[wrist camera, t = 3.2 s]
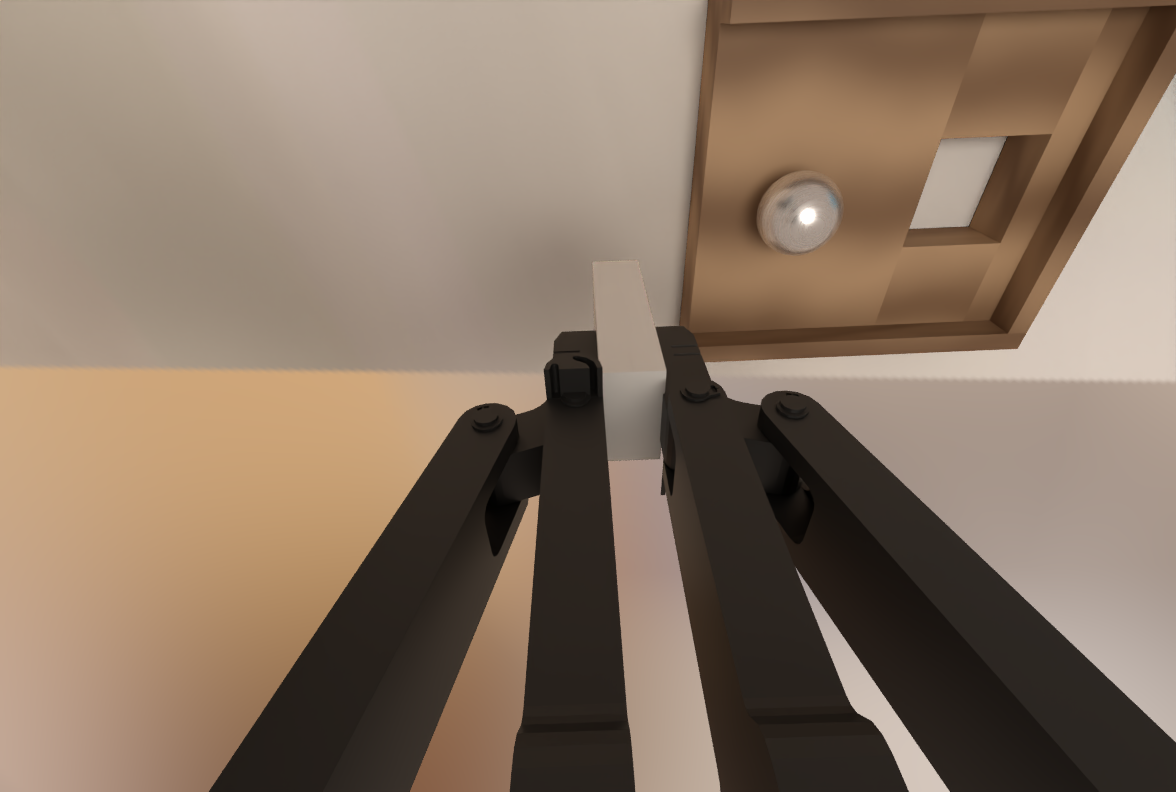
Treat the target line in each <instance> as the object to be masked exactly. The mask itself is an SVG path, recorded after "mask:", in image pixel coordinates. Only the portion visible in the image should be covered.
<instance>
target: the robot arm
mask: <svg viewBox="0 0 1176 792" xmlns="http://www.w3.org/2000/svg"><path fill="white" fill-rule="evenodd" d="M592 266H593V299H594V331H572V332H561V334H560V335H559V336H558V337H557V338H556V340H555V341H554V351H553V352H554V353H553V359H552V360H550V361H549V362H548V363H547V364H546V366H545V368H544V377H545V386H546V395H547V400H546V402H545V403H543V404H542V405H541V406H539V407H537V408H535V409H534V410H531V411H528V412H525V413H521V414H517V415H515V413H514V411H513V410H512V409H510V408H509V407H508V406H505V405H502V404H497V403H490V404H483V405H479V406H475V407H473V408H471V409H469V410H467V411H466V412H465V413H464V414H463V415H462V416H461V417H460V418H459V419H458V421H457V422H456V424H455V425H454V427H453V428H452V430H451V431H450V433H449V434H448V436H447V437H446V439H445V440H444V442H443V443H442V445H441V446H440V448H439V449H438V451H437V452H436V454H435V455H434V457H433V458H432V460H431V461H430V463H429V464H428V466H427V467H426V468H425V470H424V472H423V473H422V475H421V476H420V478H419V479H418V480H417V482H416V484H415V485H414V486H413V488H412V490H411V491H410V492H409V494H408V495H407V497H406V498H405V500H404V501H403V503H402V504H401V506H400V507H399V509H398V510H397V512H396V513H395V515H394V516H393V518H392V519H391V521H390V522H389V524H388V525H387V527H386V528H385V530H384V531H383V533H382V534H381V536H380V537H379V539H378V540H377V542H376V543H375V545H374V546H373V548H372V549H371V551H370V552H369V554H368V555H367V556H366V558H365V560H364V561H363V562H362V564H361V565H360V567H359V569H358V570H357V572H356V573H355V574H354V576H353V577H352V579H351V580H350V582H349V583H348V585H347V587H346V588H345V589H344V591H343V592H342V594H341V595H340V597H339V598H338V600H337V601H336V603H335V604H334V606H333V608H332V609H331V610H330V612H329V613H328V615H327V617H326V618H325V619H324V621H323V622H322V624H321V625H320V627H319V628H318V630H317V631H316V633H315V634H314V636H313V637H312V639H311V640H310V642H309V643H308V645H307V646H306V647H305V649H304V650H303V652H302V653H301V655H300V656H299V658H298V659H297V661H296V662H295V664H294V665H293V667H292V668H291V670H290V672H289V673H288V674H287V676H286V677H285V679H284V680H283V682H282V684H281V685H280V686H279V688H278V689H277V691H276V692H275V694H274V695H273V697H272V698H271V700H270V701H269V703H268V704H267V706H266V707H265V709H264V710H263V712H262V713H261V715H260V717H259V718H258V719H257V721H256V722H255V724H254V725H253V727H252V728H251V730H250V731H249V733H248V734H247V736H246V737H245V738H244V740H243V742H242V743H241V744H240V746H239V748H238V749H237V750H236V752H235V753H234V755H233V756H232V758H231V760H230V761H229V762H228V764H227V765H226V767H225V768H224V770H223V771H222V773H221V774H220V776H219V777H218V779H217V780H216V782H215V783H214V785H213V786H212V788H211V789H210V791H209V792H410V790H411V787H412V785H413V782H414V780H415V777H416V775H417V773H418V770H419V768H420V765H421V763H422V760H423V758H424V756H425V753H426V751H427V748H428V746H429V743H430V741H431V738H432V736H433V734H434V731H435V729H436V726H437V724H438V721H439V719H440V717H441V714H442V712H443V709H444V706H445V704H446V702H447V699H448V697H449V695H450V692H451V690H452V687H453V685H454V683H455V680H456V678H457V675H458V673H459V670H460V668H461V665H462V663H463V661H464V658H465V656H466V653H467V651H468V648H469V646H470V643H471V641H472V639H473V636H474V633H475V631H476V629H477V626H478V624H479V622H480V619H481V617H482V614H483V612H484V609H485V607H486V605H487V602H488V600H489V597H490V595H491V592H492V590H493V587H494V585H495V583H496V580H497V578H498V575H499V573H500V570H501V568H502V566H503V563H504V561H505V558H506V556H507V553H508V550H509V548H510V546H511V544H512V541H513V539H514V536H515V534H516V531H517V529H518V527H519V524H520V522H521V519H522V517H523V514H524V512H525V509H526V507H527V505H528V498H530V497H534V496H537V495H540V497H539V510H538V524H537V537H536V550H535V564H534V576H533V590H532V604H531V617H530V630H529V643H528V656H527V670H526V684H525V696H524V710H523V718H522V723H521V726H520V728H519V730H518V733H517V736H516V741H515V746H514V754H513V764H512V772H511V784H510V792H635V782H634V770H633V758H632V746H631V737H630V729H629V724H628V718H627V707H626V694H625V680H624V669H623V668H624V667H623V654H622V641H621V627H620V616H619V615H620V614H619V602H618V588H617V575H616V561H615V548H614V535H613V522H612V509H611V495H610V482H609V470H608V461H618V460H619V461H621V460H644V459H645V460H648V459H660V454H661V448H662V453H663V458H664V460H663V473H662V474H663V475H662V487H661V495H665V492H666V496H667V501H668V506H669V512H670V517H671V523H672V528H673V533H674V539H675V544H676V549H677V554H678V560H679V565H680V571H681V576H682V581H683V587H684V592H685V597H686V602H687V608H688V614H689V619H690V624H691V629H692V634H693V640H694V645H695V650H696V656H697V662H698V667H699V672H700V678H701V683H702V688H703V694H704V699H705V704H706V710H707V715H708V721H709V725H710V731H711V737H712V742H713V747H714V753H715V758H716V763H717V769H718V775H719V781H720V791H721V792H909V791H908V789H907V786H906V784H905V782H904V779H903V777H902V775H901V773H900V770H899V768H898V765H897V763H896V761H895V759H894V756H893V754H892V752H891V750H890V748H889V746H888V744H887V742H886V740H885V739H884V737H883V735H882V733H881V732H880V731H879V730H878V728H877V727H876V726H875V725H874V723H873V722H872V721H870V720H869V719H867V718H865V717H863V716H861V715H860V714H858V713H857V712H856V711H855V710H854V709H853V707H852V706H851V704H850V702H849V700H848V698H847V696H846V694H845V691H844V689H843V686H842V683H841V681H840V679H839V676H838V673H837V671H836V668H835V666H834V663H833V661H832V658H831V656H830V653H829V651H828V648H827V646H826V643H825V641H824V638H823V636H822V633H821V631H820V628H819V626H818V623H817V621H816V619H815V616H814V613H813V611H812V608H811V606H810V603H809V601H808V598H807V596H806V593H805V591H804V588H803V586H802V583H801V581H800V578H799V576H798V573H797V571H796V568H797V570H798V571H799V573H800V574H801V576H802V577H803V579H804V580H805V582H806V583H807V584H808V586H809V587H810V589H811V590H812V592H813V593H814V595H815V596H816V597H817V599H818V600H819V602H820V603H821V604H822V606H823V608H824V609H825V611H826V612H827V613H828V615H829V616H830V618H831V619H832V621H833V622H834V624H835V625H836V626H837V628H838V629H839V631H840V632H841V634H842V635H843V637H844V638H845V640H846V641H847V643H848V644H849V646H850V647H851V648H852V650H853V651H854V653H855V654H856V656H857V657H858V658H859V660H860V662H861V663H862V664H863V666H864V667H865V669H866V670H867V671H868V673H869V675H870V676H871V677H872V679H873V680H874V682H875V683H876V685H877V686H878V688H879V689H880V691H881V692H882V694H883V695H884V696H885V698H886V699H887V701H888V702H889V704H890V705H891V706H892V708H893V709H894V711H895V712H896V714H897V715H898V717H899V718H900V719H901V721H902V722H903V724H904V725H905V727H906V728H907V730H908V731H909V733H910V734H911V736H912V737H913V739H914V740H915V741H916V743H917V744H918V746H919V747H920V749H921V750H922V752H923V753H924V754H925V756H926V757H927V759H928V760H929V762H930V763H931V764H932V766H933V767H934V769H935V770H936V772H937V773H938V775H939V776H940V778H941V779H942V781H943V782H944V784H945V785H946V786H947V788H948V789H949V791H950V792H1176V742H1175V741H1174V740H1173V739H1171V738H1170V737H1169V736H1168V735H1167V734H1166V733H1165V732H1164V731H1163V730H1162V729H1161V728H1160V727H1159V726H1158V725H1157V724H1156V723H1155V722H1153V720H1152V719H1150V718H1149V717H1148V716H1147V715H1146V714H1145V713H1144V712H1143V711H1142V710H1141V709H1140V708H1139V707H1138V706H1137V705H1136V704H1135V703H1134V702H1132V700H1130V699H1129V698H1128V697H1127V696H1126V695H1125V694H1124V693H1123V692H1122V691H1121V690H1120V689H1119V688H1118V687H1117V686H1116V685H1115V684H1114V683H1113V682H1112V681H1110V680H1109V679H1108V678H1107V677H1106V676H1105V675H1104V674H1103V673H1102V672H1101V671H1100V670H1099V669H1098V668H1097V667H1096V666H1095V665H1094V664H1093V663H1092V662H1090V661H1089V660H1088V659H1087V658H1086V657H1085V656H1084V655H1083V654H1082V653H1081V652H1080V651H1079V650H1078V649H1077V648H1076V647H1075V646H1073V644H1072V643H1070V642H1069V641H1068V640H1067V639H1066V638H1065V637H1064V636H1063V635H1062V634H1061V633H1060V632H1059V631H1058V630H1056V628H1055V627H1054V626H1053V625H1051V624H1050V623H1049V622H1048V621H1047V620H1046V619H1045V618H1044V617H1043V616H1042V615H1041V614H1040V613H1039V612H1038V611H1037V610H1036V609H1035V608H1034V607H1032V605H1030V604H1029V603H1028V602H1027V601H1026V600H1025V599H1024V598H1023V597H1022V596H1021V595H1020V594H1019V593H1018V592H1017V591H1016V590H1015V589H1014V588H1013V587H1012V586H1010V585H1009V584H1008V583H1007V582H1006V581H1005V580H1004V579H1003V578H1002V577H1001V576H1000V575H999V574H998V573H997V572H996V571H995V570H994V569H992V568H991V567H990V566H989V565H988V564H987V563H986V562H985V561H984V560H983V559H982V558H981V557H980V556H979V555H978V554H977V553H976V552H975V551H974V550H972V549H971V548H970V547H969V546H968V545H967V544H966V543H965V542H964V541H963V540H962V539H961V538H960V537H959V536H958V535H957V534H956V533H955V532H954V531H952V530H951V529H950V528H949V527H948V526H947V525H946V524H945V523H944V522H943V521H942V520H941V519H940V518H939V517H938V516H937V515H936V514H935V513H934V512H932V511H931V510H930V509H929V508H928V507H927V506H926V505H925V504H924V503H923V502H922V501H921V500H920V499H919V498H918V497H917V496H916V495H915V494H914V493H912V491H910V490H909V489H908V488H907V487H906V486H905V485H904V484H903V483H902V482H901V481H900V480H899V479H898V478H897V477H896V476H895V475H894V474H893V473H891V472H890V471H889V470H888V469H887V468H886V467H885V466H884V465H883V464H882V463H881V462H880V461H879V460H878V459H877V458H876V457H875V456H873V455H872V453H870V452H869V451H868V450H867V449H866V448H865V447H864V446H863V445H862V444H861V443H860V442H859V441H858V440H857V439H856V438H855V437H854V436H852V435H851V434H850V433H849V432H848V431H847V430H846V429H845V428H844V427H843V426H842V425H841V424H840V423H839V422H838V421H837V420H836V419H835V418H834V417H833V416H832V415H830V414H829V413H828V412H827V411H826V410H825V409H824V408H823V407H822V406H821V405H820V404H819V403H818V402H816V401H815V400H813V399H812V398H810V397H809V396H806V395H803V394H801V393H798V392H792V391H776V392H773V393H770V394H767V395H766V396H765V397H764V398H763V399H762V402H761V405H755V404H749V403H743V402H739V401H735V400H732V399H730V398H727V395H726V393H725V391H724V390H723V388H722V387H721V386H720V385H718V384H717V383H715V382H714V381H711V379H710V376H709V374H708V371H707V368H706V366H705V363H704V360H703V358H702V355H701V352H700V350H699V347H698V344H697V342H696V339H695V336H694V334H692V333H691V332H690V331H689V330H688V329H686V328H685V327H684V326H669V327H655V324H654V320H653V317H652V313H651V309H650V305H649V301H648V297H647V293H646V290H645V286H644V282H643V278H642V274H641V270H640V267H639V263H638V260H623V261H597V262H592ZM795 567H796V568H795Z"/></svg>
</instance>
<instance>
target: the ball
mask: <svg viewBox="0 0 1176 792" xmlns="http://www.w3.org/2000/svg"><path fill="white" fill-rule="evenodd" d="M843 210H844V204H843V198H842V195H841V192H840V190H839V188H838V187H837V185H836V184H835V183H834V182H833V181H832V180H831V179H830V178H829V177H827V176H826V175H824V174H822V173H819V172H816V171H809V170H802V171H796V172H792V173H789V174H787V175H785V176H783V177H781V178H779V179H778V180H777V181H775V182H774V183H773V184H772V185H771V186H770V187H769V188H768V189H767V191H766V192H765V193H764V195H763V197H762V199H761V201H760V203H759V206H758V210H757V227H758V231H759V234H760V236H761V238H762V239H763V241H764V242H765V243H766V244H767V245H768V246H769V247H770V248H771V249H773V250H774V251H776V252H778V253H781V254H784V255H790V256H798V255H804V254H808V253H811V252H814V251H816V250H818V249H819V248H821V247H822V246H824V245H825V244H826V243H827V242H828V241H829V240H830V239H831V238H832V237H833V236H834V234H835V233H836V231H837V230H838V228H839V226H840V224H841V221H842V217H843Z"/></svg>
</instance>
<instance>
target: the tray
mask: <svg viewBox="0 0 1176 792" xmlns="http://www.w3.org/2000/svg"><path fill="white" fill-rule="evenodd" d="M1175 73H1176V0H708V11H707V22H706V34H705V45H704V56H703V67H702V79H701V90H700V101H699V112H698V124H697V135H696V146H695V157H694V169H693V180H692V191H691V203H690V214H689V225H688V236H687V248H686V259H685V270H684V281H683V293H682V304H681V315H680V326H684V327H685V328H686V329H688V330H689V331H690V332H691V333H692V334H694V336H695V339H696V342H697V344H698V347H699V350H700V352H701V355H702V358H703V360H704V362H721V361H745V360H768V359H791V358H814V357H837V356H860V355H883V354H906V353H929V352H952V351H975V350H999V349H1018V347H1019V345H1020V343H1021V342H1022V340H1023V338H1024V336H1025V335H1026V333H1027V331H1028V329H1029V328H1030V326H1031V324H1032V322H1033V321H1034V319H1035V317H1036V316H1037V314H1038V312H1039V310H1040V309H1041V307H1042V305H1043V303H1044V302H1045V300H1046V298H1047V296H1048V295H1049V293H1050V291H1051V289H1052V288H1053V286H1054V284H1055V282H1056V281H1057V279H1058V277H1059V275H1060V274H1061V272H1062V270H1063V268H1064V267H1065V265H1066V263H1067V262H1068V260H1069V258H1070V256H1071V255H1072V253H1073V251H1074V249H1075V248H1076V246H1077V244H1078V242H1079V241H1080V239H1081V237H1082V235H1083V234H1084V232H1085V230H1086V228H1087V227H1088V225H1089V223H1090V221H1091V220H1092V218H1093V216H1094V215H1095V213H1096V211H1097V209H1098V208H1099V206H1100V204H1101V202H1102V201H1103V199H1104V197H1105V195H1106V194H1107V192H1108V190H1109V188H1110V187H1111V185H1112V183H1113V181H1114V180H1115V178H1116V176H1117V174H1118V173H1119V171H1120V169H1121V167H1122V166H1123V164H1124V162H1125V161H1126V159H1127V157H1128V155H1129V154H1130V152H1131V150H1132V148H1133V147H1134V145H1135V143H1136V141H1137V140H1138V138H1139V136H1140V134H1141V133H1142V131H1143V129H1144V127H1145V126H1146V124H1147V122H1148V120H1149V119H1150V117H1151V115H1152V114H1153V112H1154V110H1155V108H1156V107H1157V105H1158V103H1159V101H1160V100H1161V98H1162V96H1163V94H1164V93H1165V91H1166V89H1167V87H1168V86H1169V84H1170V82H1171V80H1172V79H1173V77H1174V75H1175ZM993 136H1008V138H1007V140H1006V142H1005V145H1004V147H1003V149H1002V152H1001V154H1000V156H999V159H998V161H997V163H996V166H995V168H994V170H993V172H992V175H991V177H990V179H989V182H988V184H987V186H986V189H985V191H984V193H983V196H982V198H981V200H980V203H979V205H978V207H977V210H976V212H975V214H974V217H973V219H972V221H971V224H970V226H969V227H950V228H927V229H909V228H910V225H911V222H912V219H913V216H914V214H915V211H916V208H917V205H918V202H919V200H920V197H921V194H922V191H923V188H924V186H925V183H926V180H927V177H928V174H929V172H930V169H931V166H932V163H933V161H934V158H935V155H936V152H937V149H938V147H939V144H940V141H941V139H946V138H969V137H993ZM802 170H809V171H816V172H819V173H822V174H824V175H826V176H827V177H829V178H830V179H831V180H832V181H833V182H834V183H835V184H836V185H837V187H838V188H839V190H840V192H841V195H842V198H843V204H844V210H843V217H842V221H841V224H840V226H839V228H838V230H837V231H836V233H835V234H834V236H833V237H832V238H831V239H830V240H829V241H828V242H827V243H826V244H825V245H824V246H822V247H821V248H819V249H818V250H816V251H814V252H811V253H808V254H804V255H798V256H790V255H784V254H781V253H778V252H776V251H774V250H773V249H771V248H770V247H769V246H768V245H767V244H766V243H765V242H764V241H763V239H762V238H761V236H760V234H759V231H758V227H757V210H758V206H759V203H760V201H761V199H762V197H763V195H764V193H765V192H766V191H767V189H768V188H769V187H770V186H771V185H772V184H773V183H774V182H775V181H777V180H778V179H779V178H781V177H783V176H785V175H787V174H789V173H792V172H796V171H802Z"/></svg>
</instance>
